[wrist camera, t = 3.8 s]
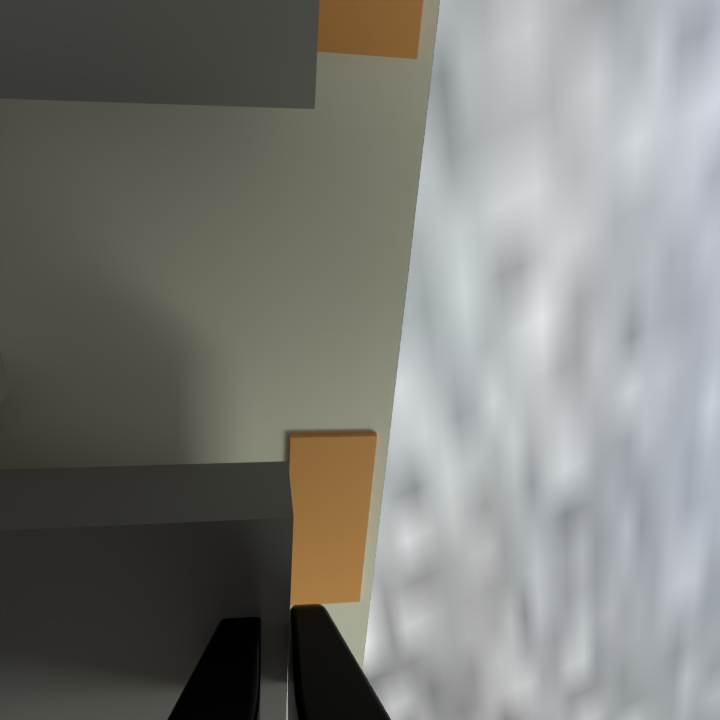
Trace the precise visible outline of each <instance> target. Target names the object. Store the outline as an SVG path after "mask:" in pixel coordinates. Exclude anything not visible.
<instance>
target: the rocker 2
mask: <svg viewBox="0 0 720 720" xmlns="http://www.w3.org/2000/svg"><path fill="white" fill-rule="evenodd" d="M293 521H294V516H293V506H292V496H291V486H290V476H289V466H288V461H277V462H243V463H210V464H177V465H143V466H110V467H76V468H43V469H10V470H0V720H167V719H168V717H169V715H170V713H171V712H172V710H173V708H174V706H175V704H176V702H177V700H178V699H179V697H180V695H181V693H182V691H183V689H184V687H185V685H186V684H187V682H188V680H189V678H190V676H191V674H192V672H193V671H194V669H195V667H196V665H197V663H198V661H199V659H200V657H201V656H202V654H203V652H204V650H205V648H206V646H207V644H208V643H209V641H210V639H211V637H212V635H213V633H214V631H215V629H216V628H217V626H218V624H219V622H220V621H221V620H222V619H227V618H242V617H259V618H260V619H261V684H260V720H286V698H287V673H288V648H289V622H290V597H291V572H292V547H293Z"/></svg>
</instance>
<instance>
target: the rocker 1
mask: <svg viewBox="0 0 720 720" xmlns="http://www.w3.org/2000/svg"><path fill="white" fill-rule="evenodd" d="M318 22H319V0H0V98H1V99H30V100H60V101H90V102H119V103H149V104H179V105H208V106H238V107H268V108H297V109H315V92H316V68H317V45H318Z"/></svg>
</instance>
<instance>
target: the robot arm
mask: <svg viewBox="0 0 720 720" xmlns="http://www.w3.org/2000/svg"><path fill="white" fill-rule="evenodd" d="M260 684H261V619H260V618H259V617H242V618H227V619H222V620H221V621H220V622H219V624H218V626H217V628H216V629H215V631H214V633H213V635H212V637H211V639H210V641H209V643H208V644H207V646H206V648H205V650H204V652H203V654H202V656H201V657H200V659H199V661H198V663H197V665H196V667H195V669H194V671H193V672H192V674H191V676H190V678H189V680H188V682H187V684H186V685H185V687H184V689H183V691H182V693H181V695H180V697H179V699H178V700H177V702H176V704H175V706H174V708H173V710H172V712H171V713H170V715H169V717H168V719H167V720H260ZM288 720H391V719H390V717H389V715H388V714H387V712H386V710H385V709H384V707H383V705H382V703H381V702H380V700H379V698H378V697H377V695H376V693H375V691H374V690H373V688H372V686H371V685H370V683H369V681H368V679H367V678H366V676H365V674H364V673H363V671H362V669H361V667H360V666H359V664H358V662H357V661H356V659H355V657H354V655H353V654H352V652H351V650H350V649H349V647H348V645H347V644H346V642H345V640H344V638H343V637H342V635H341V633H340V632H339V630H338V628H337V626H336V625H335V623H334V621H333V620H332V618H331V616H330V614H329V613H328V611H327V609H326V608H325V607H324V606H323V605H321V604H301V605H294V606H292V607H291V609H290V622H289V648H288Z"/></svg>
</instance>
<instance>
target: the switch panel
mask: <svg viewBox="0 0 720 720" xmlns="http://www.w3.org/2000/svg"><path fill="white" fill-rule="evenodd" d="M439 5H440V0H319V22H318V45H317V68H316V92H315V109H297V108H268V107H238V106H208V105H179V104H149V103H119V102H90V101H60V100H30V99H1V98H0V470H10V469H43V468H76V467H110V466H143V465H177V464H210V463H243V462H277V461H288V466H289V476H290V486H291V496H292V506H293V516H294V521H293V547H292V572H291V597H290V609H291V607H292V606H294V605H301V604H321V605H323V606H324V607H325V608H326V609H327V611H328V613H329V614H330V616H331V618H332V620H333V621H334V623H335V625H336V626H337V628H338V630H339V632H340V633H341V635H342V637H343V638H344V640H345V642H346V644H347V645H348V647H349V649H350V650H351V652H352V654H353V655H354V657H355V659H356V661H357V662H358V664H359V666H360V667H361V669H363V660H364V651H365V643H366V634H367V626H368V617H369V608H370V600H371V591H372V582H373V574H374V565H375V557H376V548H377V539H378V531H379V522H380V514H381V505H382V496H383V488H384V479H385V470H386V462H387V453H388V445H389V436H390V427H391V419H392V410H393V402H394V393H395V384H396V376H397V367H398V359H399V350H400V341H401V333H402V324H403V315H404V307H405V298H406V290H407V281H408V272H409V264H410V255H411V247H412V238H413V229H414V221H415V212H416V204H417V195H418V186H419V178H420V169H421V160H422V152H423V143H424V135H425V126H426V117H427V109H428V100H429V92H430V83H431V74H432V66H433V57H434V48H435V40H436V31H437V23H438V14H439ZM287 680H288V673H287Z"/></svg>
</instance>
